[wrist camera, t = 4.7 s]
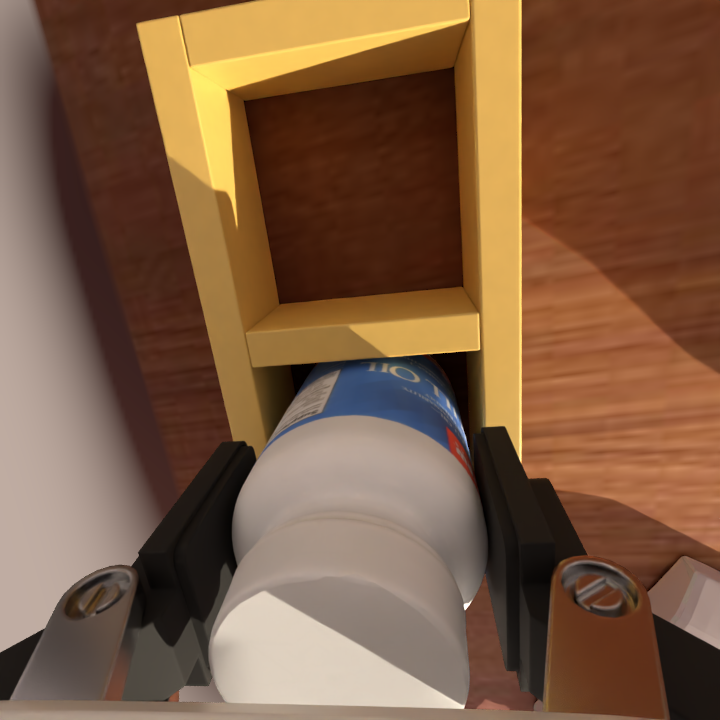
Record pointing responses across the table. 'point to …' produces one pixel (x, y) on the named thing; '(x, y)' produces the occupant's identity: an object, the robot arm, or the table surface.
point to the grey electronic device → (687, 601)
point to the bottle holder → (244, 207)
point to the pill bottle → (356, 546)
